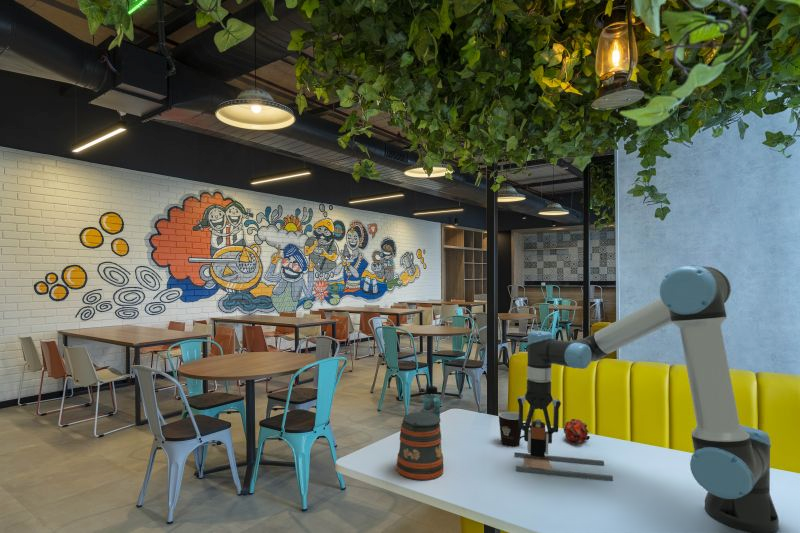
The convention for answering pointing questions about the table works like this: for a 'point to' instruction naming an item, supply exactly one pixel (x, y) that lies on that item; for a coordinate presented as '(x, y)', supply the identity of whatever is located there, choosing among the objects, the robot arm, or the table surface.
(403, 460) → the beer stein
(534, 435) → the battery
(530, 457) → the rail
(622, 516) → the table surface
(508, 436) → the coffee mug
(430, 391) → the beverage bottle
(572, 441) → the dragon fruit
